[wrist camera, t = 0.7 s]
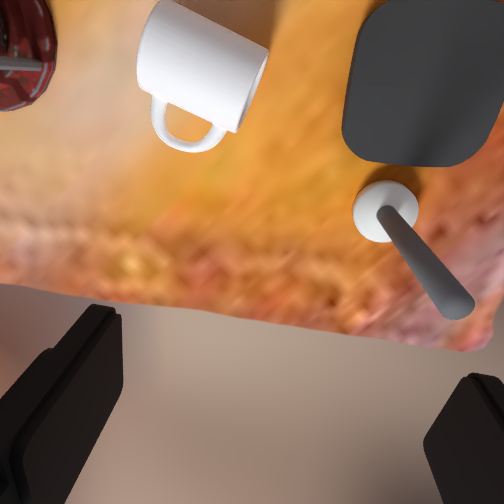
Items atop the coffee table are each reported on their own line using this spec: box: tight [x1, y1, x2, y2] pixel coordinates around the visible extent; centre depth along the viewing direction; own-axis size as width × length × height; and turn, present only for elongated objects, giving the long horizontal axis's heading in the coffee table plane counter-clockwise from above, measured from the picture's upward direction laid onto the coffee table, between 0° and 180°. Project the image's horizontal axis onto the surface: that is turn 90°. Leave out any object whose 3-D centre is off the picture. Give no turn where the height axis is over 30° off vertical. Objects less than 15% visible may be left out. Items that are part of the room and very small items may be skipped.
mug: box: [136, 0, 269, 152], centre depth 33 cm, size 12×10×8 cm
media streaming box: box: [342, 0, 504, 167], centre depth 34 cm, size 15×15×3 cm
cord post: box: [352, 180, 475, 320], centre depth 32 cm, size 7×7×20 cm
